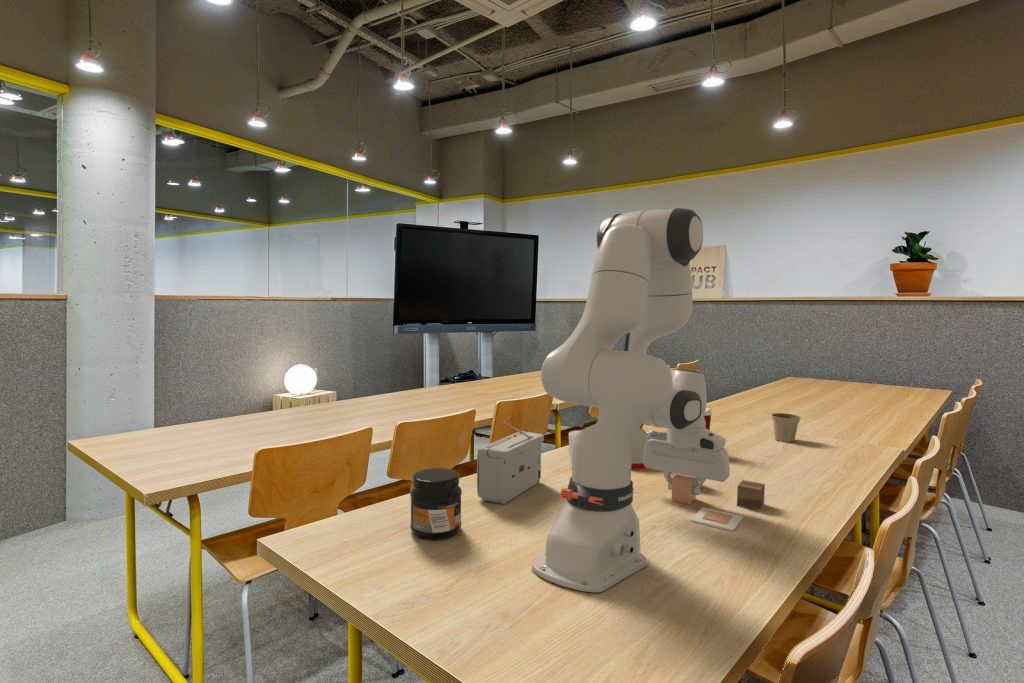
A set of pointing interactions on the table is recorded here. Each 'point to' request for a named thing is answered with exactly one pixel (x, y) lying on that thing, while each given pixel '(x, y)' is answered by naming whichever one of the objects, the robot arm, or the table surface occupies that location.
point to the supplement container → (435, 503)
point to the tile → (717, 519)
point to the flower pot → (785, 426)
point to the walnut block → (750, 495)
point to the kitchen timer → (638, 450)
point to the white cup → (571, 439)
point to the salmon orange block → (683, 488)
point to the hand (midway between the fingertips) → (683, 491)
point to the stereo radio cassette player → (509, 466)
